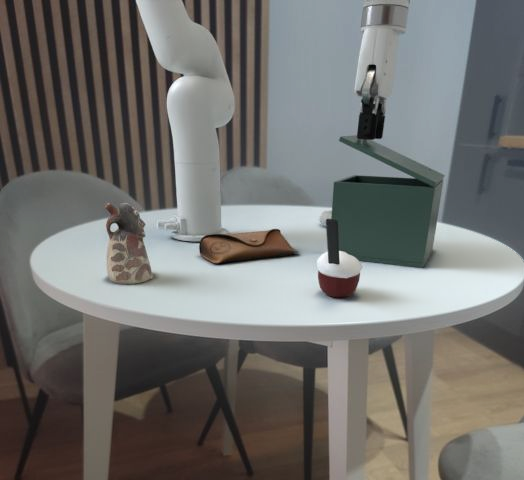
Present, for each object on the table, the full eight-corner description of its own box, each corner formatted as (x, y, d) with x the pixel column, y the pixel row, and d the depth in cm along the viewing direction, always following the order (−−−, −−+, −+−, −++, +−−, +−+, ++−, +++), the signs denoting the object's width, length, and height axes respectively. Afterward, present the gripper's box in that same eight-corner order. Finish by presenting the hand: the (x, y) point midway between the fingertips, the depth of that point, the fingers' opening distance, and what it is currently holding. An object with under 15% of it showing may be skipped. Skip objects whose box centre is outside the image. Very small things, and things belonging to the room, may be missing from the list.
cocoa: (340, 284, 80) (346, 207, 75) (371, 293, 75) (380, 213, 70) (298, 296, 74) (301, 213, 69) (329, 307, 70) (335, 220, 65)
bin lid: (338, 140, 87) (351, 111, 84) (358, 138, 99) (370, 113, 96) (433, 187, 83) (450, 158, 81) (442, 179, 96) (457, 153, 93)
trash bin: (328, 257, 96) (333, 181, 90) (348, 242, 108) (353, 175, 102) (422, 267, 89) (434, 187, 83) (432, 250, 101) (443, 179, 96)
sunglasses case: (217, 263, 88) (208, 227, 89) (204, 274, 95) (196, 240, 95) (301, 252, 96) (293, 219, 97) (284, 263, 103) (277, 232, 103)
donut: (320, 230, 120) (362, 230, 120) (321, 215, 118) (363, 215, 118) (317, 222, 129) (356, 222, 129) (317, 209, 127) (357, 208, 127)
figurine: (154, 282, 79) (148, 205, 74) (108, 285, 78) (98, 206, 72) (150, 270, 86) (144, 198, 81) (107, 273, 84) (98, 199, 79)
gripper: (372, 31, 92) (360, 136, 100) (349, 13, 78) (337, 138, 85) (414, 30, 89) (398, 139, 97) (397, 12, 75) (380, 141, 83)
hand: (369, 137), depth 91 cm, fingers closed on bin lid, 5 cm apart
